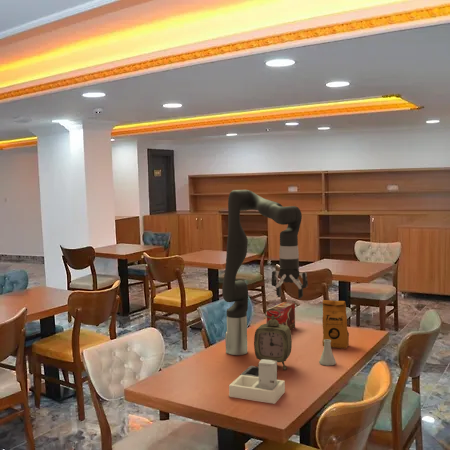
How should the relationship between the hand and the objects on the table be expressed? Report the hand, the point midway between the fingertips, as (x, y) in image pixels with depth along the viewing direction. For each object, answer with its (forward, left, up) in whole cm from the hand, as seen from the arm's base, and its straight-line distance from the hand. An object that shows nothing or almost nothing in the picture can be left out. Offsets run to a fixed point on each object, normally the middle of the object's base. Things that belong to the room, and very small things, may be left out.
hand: (289, 297), depth 211 cm
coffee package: (+8, +44, -32) cm, 55 cm away
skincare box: (-2, -22, -32) cm, 38 cm away
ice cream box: (-24, +59, -32) cm, 71 cm away
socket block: (-11, -9, -32) cm, 35 cm away
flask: (+10, +20, -32) cm, 39 cm away
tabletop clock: (-10, +8, -32) cm, 35 cm away
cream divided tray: (-6, -22, -32) cm, 39 cm away
